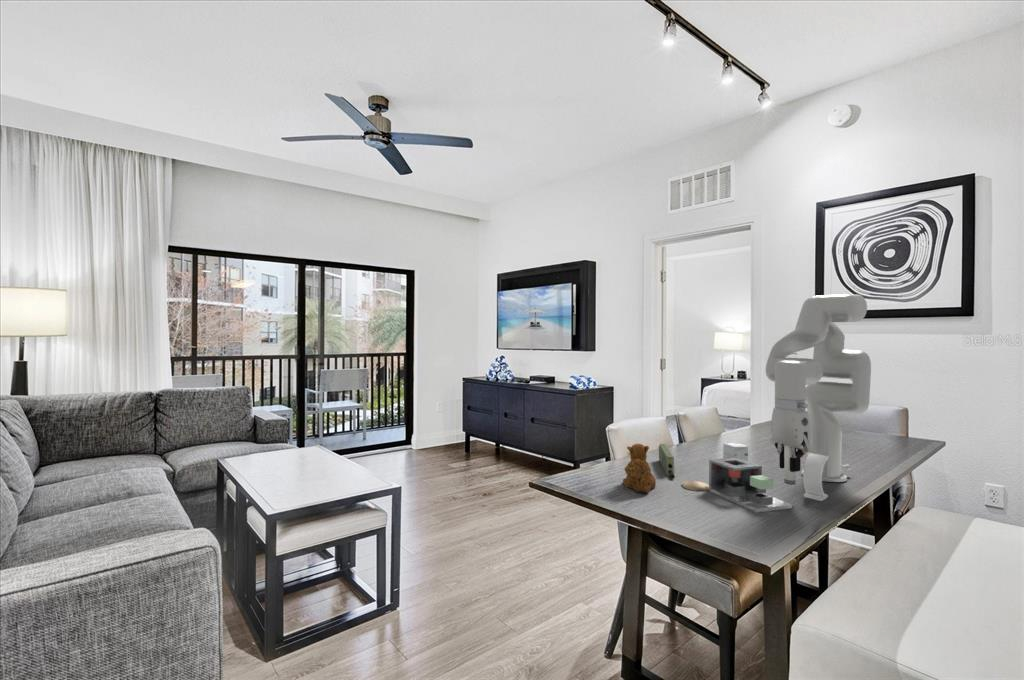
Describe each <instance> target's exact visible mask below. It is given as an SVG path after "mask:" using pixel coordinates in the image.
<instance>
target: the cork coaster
mask: <svg viewBox="0 0 1024 680" xmlns="http://www.w3.org/2000/svg"><path fill="white" fill-rule="evenodd" d="M681 486H682V487H683V488H685V489H687V490H689V491H697V492H704V491H707V488H705V486H709V483H706V482H703V481H698V480H685V481H682V483H681Z"/></svg>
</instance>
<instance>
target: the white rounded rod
mask: <svg viewBox="0 0 1024 680" xmlns="http://www.w3.org/2000/svg"><path fill="white" fill-rule="evenodd" d="M783 446H784V468H783V473H784V474H783V476H784V477H783V479H784V480H783V482H784V484H786V485H790V486H792V485H793V486H794V485H796V483H797V480H796V477H797V476H796V474H797V472H791V471H790V457H792V454H791V446H788V445H783Z"/></svg>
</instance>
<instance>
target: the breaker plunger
mask: <svg viewBox="0 0 1024 680" xmlns="http://www.w3.org/2000/svg"><path fill="white" fill-rule="evenodd" d="M729 477H732V482H738V478H741V470H734V471H733V470H731V469H729Z"/></svg>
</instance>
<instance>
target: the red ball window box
mask: <svg viewBox="0 0 1024 680" xmlns="http://www.w3.org/2000/svg"><path fill="white" fill-rule="evenodd" d="M708 463H709V464H708V465H709V467H708V485H709V486H705V488H707V490H706V491H708V492H710V493H712V494H714V495H716V496H719V497H721V498H724V499H725V500H728V501H730V502H732V503H734V504H736V505H739V506H741V507H743V508H745V509H747V510H749V511H752V512H754V513H756V514H757V513H764V512H765V513H766V512H771V511H773V512H774V511H779V510H787V509H792V508H793V504H791V503H789V502H787V501H785V500H784V501H783V500H781V499H779V498H777V497H773V496H771V495H769V494H766V493H759V492H757V488H756V487H753V486H751V485H750V476H758V475H762V473H763V466H762V465H760V464H757V463H754V462H752V461H749V460H748V461H746V460H743V459H739V458H724V459H723V458H715V459H712V458H711V459H709V460H708ZM729 469H731V470H733V471H734V470H741V478H738V482H732V477H729Z"/></svg>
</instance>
